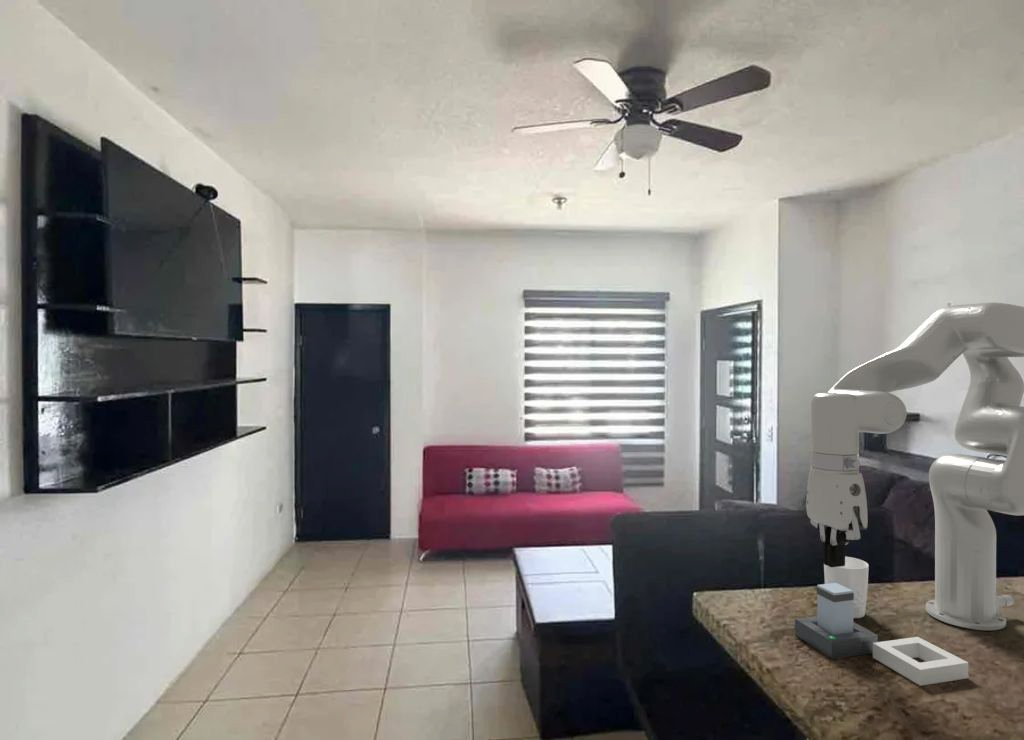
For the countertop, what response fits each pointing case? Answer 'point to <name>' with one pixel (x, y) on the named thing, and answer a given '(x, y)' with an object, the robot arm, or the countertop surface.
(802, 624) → the port
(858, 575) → the white cup
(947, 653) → the holster
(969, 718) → the countertop surface
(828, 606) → the plug
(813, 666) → the countertop surface
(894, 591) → the countertop surface
